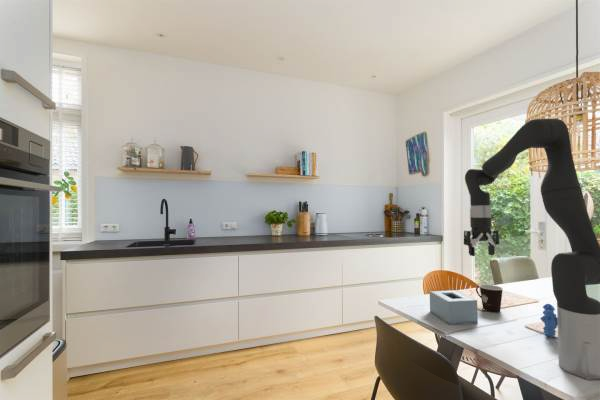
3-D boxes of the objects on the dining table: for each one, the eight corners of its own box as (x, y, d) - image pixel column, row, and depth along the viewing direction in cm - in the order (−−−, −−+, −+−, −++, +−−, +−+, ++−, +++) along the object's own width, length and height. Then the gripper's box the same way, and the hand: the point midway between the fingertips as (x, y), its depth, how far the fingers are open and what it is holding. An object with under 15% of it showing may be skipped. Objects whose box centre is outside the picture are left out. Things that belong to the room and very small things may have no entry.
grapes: (567, 347, 97) (566, 310, 97) (541, 341, 101) (540, 306, 101) (564, 334, 106) (563, 300, 106) (540, 329, 110) (539, 297, 110)
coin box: (477, 323, 117) (477, 300, 117) (448, 324, 116) (448, 301, 116) (456, 310, 131) (455, 290, 131) (430, 311, 130) (429, 291, 130)
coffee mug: (507, 314, 125) (506, 290, 126) (484, 313, 127) (484, 289, 127) (494, 304, 137) (494, 283, 137) (474, 304, 139) (473, 282, 139)
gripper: (471, 217, 118) (472, 257, 118) (503, 216, 120) (504, 256, 120) (458, 216, 126) (460, 254, 126) (489, 215, 128) (490, 253, 127)
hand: (481, 255), depth 123 cm, fingers open, 8 cm apart
